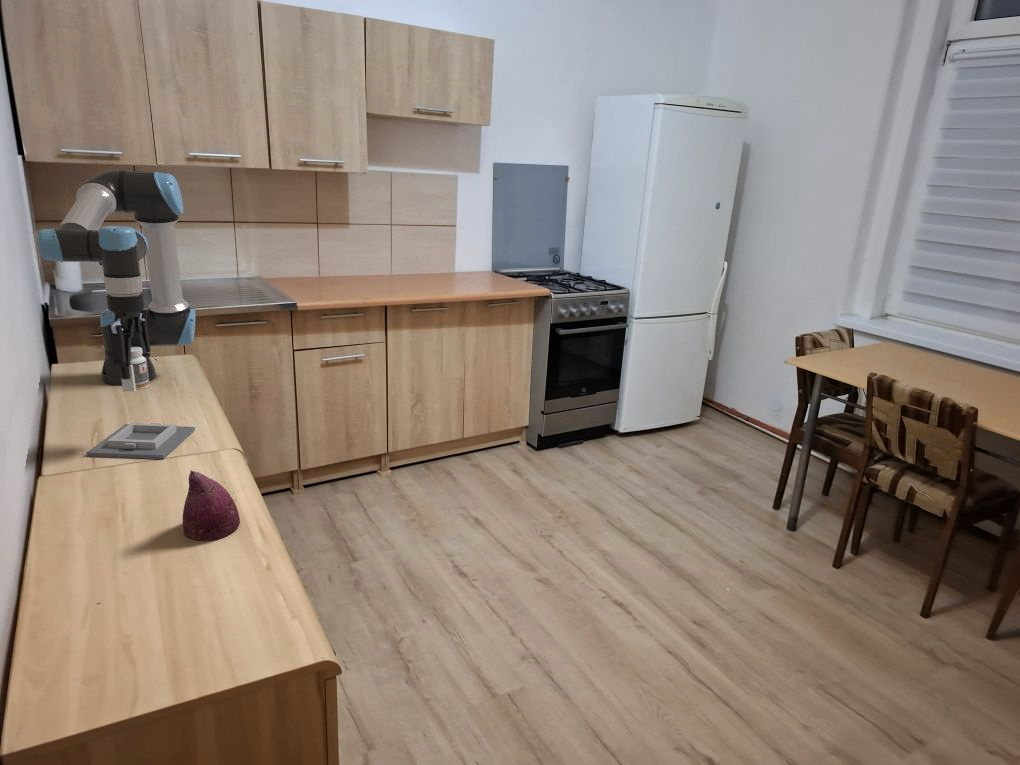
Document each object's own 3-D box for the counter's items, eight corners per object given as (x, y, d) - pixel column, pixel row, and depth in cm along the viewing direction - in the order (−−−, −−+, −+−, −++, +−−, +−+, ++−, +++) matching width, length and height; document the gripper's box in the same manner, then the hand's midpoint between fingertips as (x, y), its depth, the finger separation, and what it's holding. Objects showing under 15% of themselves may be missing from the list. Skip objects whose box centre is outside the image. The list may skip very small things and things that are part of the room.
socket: (125, 427, 176) (124, 417, 175) (195, 430, 177) (194, 420, 176) (87, 456, 159) (85, 445, 158) (163, 459, 160) (162, 448, 159)
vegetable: (192, 559, 127) (164, 501, 119) (184, 527, 135) (157, 471, 127) (247, 535, 132) (223, 478, 124) (236, 506, 139) (213, 450, 131)
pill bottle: (154, 385, 166) (149, 347, 163) (139, 392, 160) (134, 353, 157) (132, 383, 166) (127, 345, 163) (117, 390, 161) (112, 351, 158)
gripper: (128, 285, 165) (139, 374, 172) (85, 300, 147) (99, 398, 154) (159, 287, 165) (169, 375, 172) (120, 302, 147) (132, 400, 154)
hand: (136, 386), depth 163 cm, fingers closed on pill bottle, 6 cm apart
